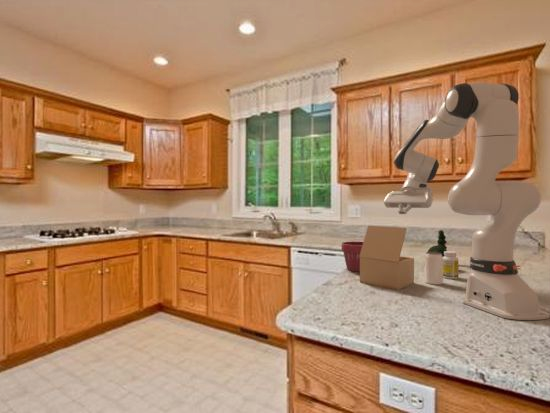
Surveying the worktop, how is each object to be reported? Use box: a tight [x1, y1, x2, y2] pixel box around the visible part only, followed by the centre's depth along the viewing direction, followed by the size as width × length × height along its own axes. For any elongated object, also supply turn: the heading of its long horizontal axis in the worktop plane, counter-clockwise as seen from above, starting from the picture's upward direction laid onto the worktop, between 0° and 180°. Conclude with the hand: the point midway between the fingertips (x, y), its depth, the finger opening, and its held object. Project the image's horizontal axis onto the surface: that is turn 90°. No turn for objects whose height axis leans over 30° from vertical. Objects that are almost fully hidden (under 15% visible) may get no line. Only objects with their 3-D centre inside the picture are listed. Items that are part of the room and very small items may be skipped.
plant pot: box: [341, 241, 364, 272], centre depth 154 cm, size 14×14×13 cm
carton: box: [359, 255, 415, 290], centre depth 130 cm, size 14×16×10 cm
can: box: [424, 251, 444, 286], centre depth 129 cm, size 6×6×12 cm
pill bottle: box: [443, 250, 459, 280], centre depth 138 cm, size 6×6×11 cm
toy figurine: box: [427, 229, 448, 257], centre depth 161 cm, size 9×19×25 cm
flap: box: [359, 225, 407, 262], centre depth 127 cm, size 14×16×1 cm
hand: (402, 213), depth 139 cm, fingers closed
